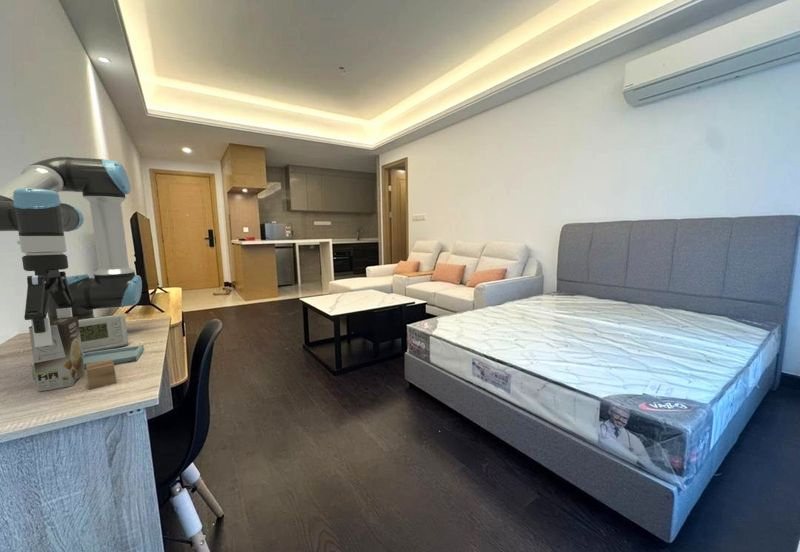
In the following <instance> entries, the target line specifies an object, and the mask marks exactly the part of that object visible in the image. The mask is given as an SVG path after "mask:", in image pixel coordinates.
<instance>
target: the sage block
mask: <svg viewBox="0 0 800 552" xmlns="http://www.w3.org/2000/svg"><path fill="white" fill-rule="evenodd" d="M30 368H31V375H32V380H33V381H35V380H36V372H35V366H34V363H33V364H31V365H30ZM36 381H37V380H36Z"/></svg>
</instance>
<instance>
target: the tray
mask: <svg viewBox="0 0 800 552" xmlns="http://www.w3.org/2000/svg"><path fill="white" fill-rule="evenodd" d="M144 350H145V348H144V344H142V345H141V344H140V345H139V344H138V345H134V346H124V347H116V348H114V349H109V350H103V351H96V352H88V353H83V361H84V368H85V370H86V365H87V364H92V363H97V362H102V361H107V360H113V363H114V366H115V365H123V364H127V363H128V364H129V363H135V362H137V361H138V360H139V358H140V357H141V355H142V354H143V352H144Z"/></svg>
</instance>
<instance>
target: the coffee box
mask: <svg viewBox="0 0 800 552" xmlns="http://www.w3.org/2000/svg"><path fill="white" fill-rule="evenodd" d="M49 321H50V328H51V335H52V342H53V344H52V345H48V346H40V347H35V343H34V336H33V329H32V325H31V326H29V327H28V330H29V336H30V337H29V338H30V344H31V352H32V358H33V364H34V366H35V372H36V385H37V391H38V392H44V391H51V390H57V389H64V388H69V387H72V386H73V385H75V384H76V383H77V382H78V381H79V380H80V379H81V378H82V377H83V376H84V375H85V374H86V369H85V368H84V361H83V353H82V345H81V337H80V330H79V322H78V317H66V318H57V319H49Z"/></svg>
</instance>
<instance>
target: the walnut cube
mask: <svg viewBox="0 0 800 552" xmlns="http://www.w3.org/2000/svg"><path fill="white" fill-rule="evenodd" d="M85 371H86V376H87V378H86V379H87V384H88V390H93V389H98V388H102V387H106V386H109V385H113V384H116V383H117V380H116V371H115V365H114V363H113V360H107V361H102V362H97V363H92V364H87V365H86V369H85Z"/></svg>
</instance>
